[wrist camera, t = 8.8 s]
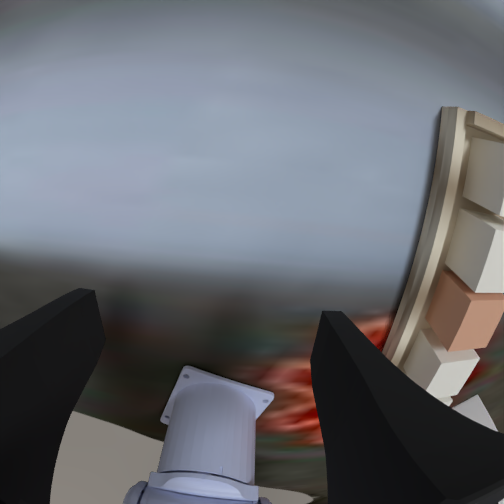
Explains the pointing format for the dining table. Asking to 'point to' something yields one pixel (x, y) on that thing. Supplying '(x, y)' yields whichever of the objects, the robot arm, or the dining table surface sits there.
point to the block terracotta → (463, 314)
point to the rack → (439, 224)
